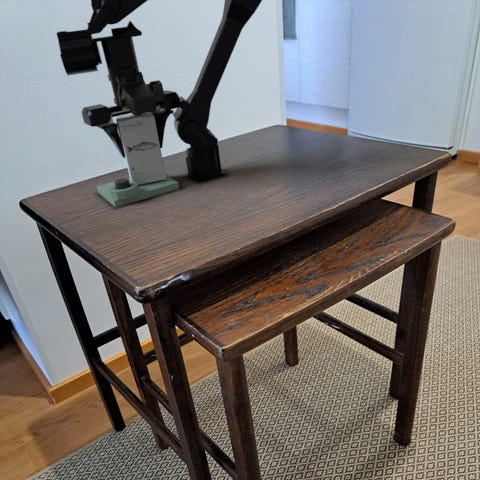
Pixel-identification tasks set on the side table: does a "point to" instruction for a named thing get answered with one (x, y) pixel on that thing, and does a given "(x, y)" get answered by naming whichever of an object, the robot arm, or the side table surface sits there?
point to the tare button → (122, 183)
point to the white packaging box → (141, 147)
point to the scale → (136, 191)
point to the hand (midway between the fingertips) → (142, 152)
